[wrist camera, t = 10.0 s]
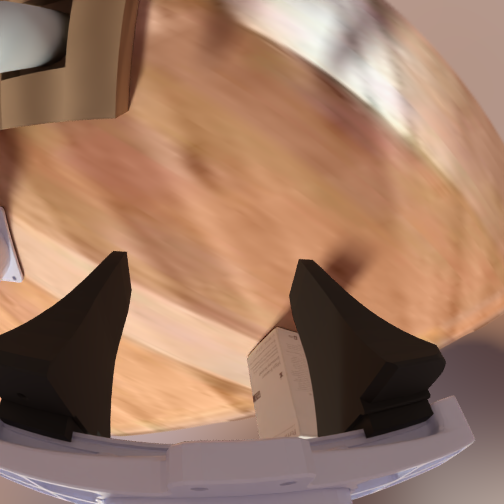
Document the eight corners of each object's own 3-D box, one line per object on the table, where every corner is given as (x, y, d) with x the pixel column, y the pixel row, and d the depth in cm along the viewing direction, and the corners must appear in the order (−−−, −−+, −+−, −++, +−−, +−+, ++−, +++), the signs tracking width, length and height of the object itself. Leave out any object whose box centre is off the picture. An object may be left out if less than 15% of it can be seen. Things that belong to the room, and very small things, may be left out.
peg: (28, 73, 14) (-34, 87, 8) (27, 22, 11) (-35, 20, 6) (77, 57, 14) (20, 60, 8) (76, 4, 12) (21, -12, 6)
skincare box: (274, 324, 30) (300, 435, 20) (309, 334, 32) (340, 436, 22) (244, 358, 33) (258, 459, 23) (277, 366, 35) (297, 459, 25)
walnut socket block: (-7, 125, 15) (-29, 135, 13) (3, -15, 9) (-18, -19, 6) (128, 110, 17) (115, 118, 15) (149, -50, 11) (140, -65, 8)
